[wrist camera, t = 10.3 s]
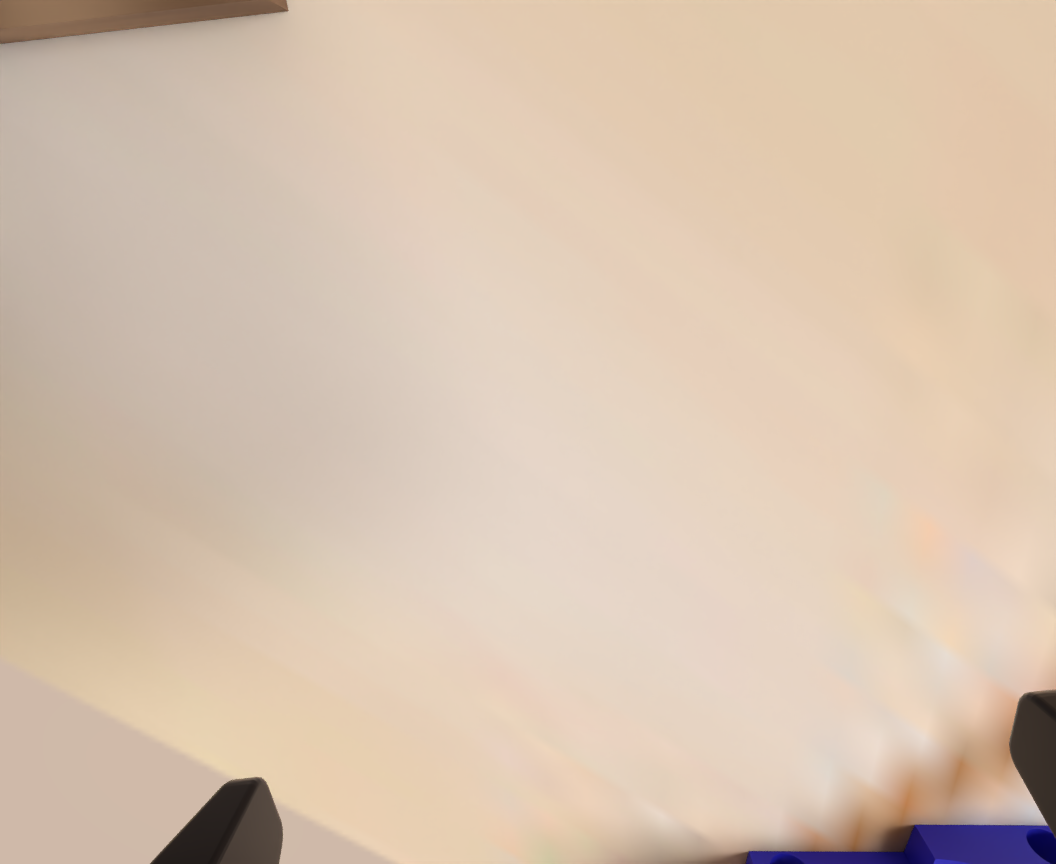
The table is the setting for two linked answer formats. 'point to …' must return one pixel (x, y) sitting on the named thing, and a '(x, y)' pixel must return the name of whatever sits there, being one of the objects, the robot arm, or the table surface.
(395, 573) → the table surface
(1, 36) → the gear board
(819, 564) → the table surface
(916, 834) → the blue bracket
